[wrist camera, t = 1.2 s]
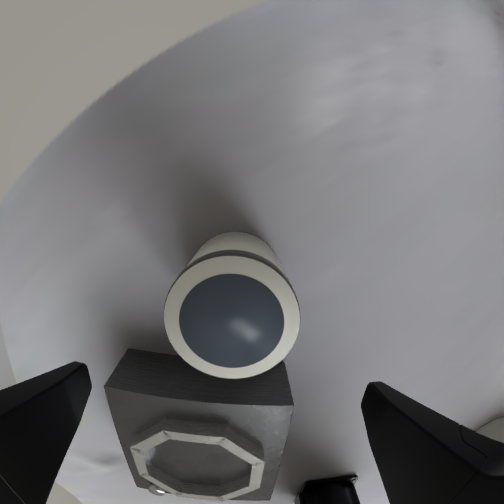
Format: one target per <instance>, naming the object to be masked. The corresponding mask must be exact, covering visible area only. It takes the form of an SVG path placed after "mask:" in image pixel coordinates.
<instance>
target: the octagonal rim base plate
mask: <svg viewBox="0 0 504 504" xmlns="http://www.w3.org/2000/svg"><path fill="white" fill-rule="evenodd" d="M104 388H105V392H106V396H107V400H108V404H109V407H110V411H111V414H112V418H113V421H114V425H115V428H116V431H117V434H118V437H119V440H120V443H121V446H122V449H123V452H124V455H125V458H126V460H127V463H128V466H129V468H130V471H131V473H132V476H133V478H134V481H135V483H136V485H137V487H140V488H145V489H149V491H150V492H151V493H153V494H155V495H160V496H162V495H164V494H165V493H171V494H174V495H176V496H180V497H187V498H195V499H204V500H215V501H225V500H253V501H260V500H270V499H271V495H272V492H273V488H274V485H275V481H276V477H277V474H278V470H279V466H280V463H281V459H282V455H283V451H284V447H285V443H286V439H287V434H288V430H289V426H290V422H291V417H292V413H293V408H294V403H293V398H292V394H291V390H290V385H289V381H288V376H287V372H286V367H285V363H282V362H279V363H278V364H276V365H275V366H274V367H272V368H271V369H269V370H267V371H265V372H263V373H261V374H258V375H255V376H251V377H246V378H238V379H230V378H220V377H216V376H212V375H209V374H206V373H204V372H202V371H200V370H198V369H196V368H194V367H193V366H191V365H190V364H189V363H187V362H186V361H185V360H184V359H183V358H182V357H181V356H177V355H168V354H160V353H153V352H146V351H139V350H133V349H128V350H127V351H126V353H125V354H124V356H123V357H122V359H121V360H120V362H119V363H118V365H117V366H116V368H115V370H114V371H113V373H112V374H111V376H110V377H109V379H108V380H107V382H106V384H105V385H104Z"/></svg>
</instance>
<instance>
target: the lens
mask: <svg viewBox="0 0 504 504" xmlns="http://www.w3.org/2000/svg"><path fill="white" fill-rule="evenodd" d="M164 323H165V328H166V332H167V335H168V338H169V340H170V342H171V344H172V346H173V347H174V349H175V350H176V351H177V353H178V354H179V355H180V356H181V357H182V358H183V359H184V360H185V361H186V362H187V363H189V364H190V365H191V366H193V367H194V368H196V369H198V370H200V371H202V372H204V373H206V374H209V375H212V376H216V377H220V378H230V379H238V378H246V377H251V376H255V375H258V374H261V373H263V372H265V371H267V370H269V369H271V368H272V367H274V366H275V365H276V364H278V363H279V362H280V361H281V360H282V359H283V358H284V357H285V356H286V355H287V354H288V352H289V351H290V350H291V348H292V346H293V345H294V343H295V340H296V338H297V335H298V331H299V326H300V308H299V304H298V300H297V297H296V295H295V292H294V290H293V288H292V286H291V284H290V282H289V281H288V279H287V278H286V276H285V274H284V272H283V269H282V267H281V265H280V263H279V261H278V259H277V257H276V255H275V253H274V252H273V250H272V249H271V248H270V247H269V246H268V245H267V244H266V243H265V242H264V241H263V240H261V239H260V238H258V237H256V236H254V235H251V234H248V233H244V232H226V233H222V234H219V235H217V236H214V237H213V238H211V239H209V240H208V241H207V242H205V243H204V244H203V245H202V246H201V247H200V249H199V250H198V251H197V253H196V254H195V255H194V257H193V258H192V260H191V261H190V262H189V264H188V265H187V267H186V268H185V269H184V270H183V271H182V272H181V274H180V275H179V276H178V278H177V279H176V280H175V282H174V283H173V285H172V286H171V288H170V290H169V292H168V295H167V298H166V302H165V307H164Z"/></svg>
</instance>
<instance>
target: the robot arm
mask: <svg viewBox="0 0 504 504" xmlns="http://www.w3.org/2000/svg"><path fill="white" fill-rule="evenodd" d="M91 388H92V384H91V380H90V376H89V372H88V368H87V366H86V364H84V363H81V362H76V361H74V362H72V363H69V364H67V365H64V366H62V367H59V368H57V369H54V370H52V371H49V372H47V373H44V374H42V375H39V376H36V377H34V378H31V379H29V380H26V381H24V382H21V383H18V384H16V385H13V386H11V387H8V388H5V389H2V390H0V504H46V502H47V499H48V496H49V494H50V491H51V489H52V486H53V484H54V481H55V479H56V476H57V474H58V471H59V469H60V467H61V464H62V462H63V460H64V457H65V455H66V453H67V450H68V448H69V446H70V444H71V441H72V439H73V437H74V435H75V433H76V431H77V428H78V426H79V424H80V421H81V418H82V415H83V412H84V409H85V406H86V403H87V400H88V397H89V395H90V392H91ZM361 409H362V413H363V417H364V421H365V426H366V430H367V435H368V439H369V443H370V446H371V450H372V452H373V455H374V458H375V461H376V464H377V467H378V470H379V472H380V475H381V478H382V481H383V484H384V487H385V490H386V493H387V496H388V499H389V503H390V504H504V443H502V442H500V441H497V440H494V439H492V438H489V437H486V436H484V435H482V434H479V433H477V432H475V431H473V430H471V429H468V428H467V427H465V426H463V425H459V423H457V422H455V421H453V420H451V419H449V418H447V417H445V416H443V415H441V414H439V413H437V412H435V411H434V410H432V409H430V408H428V407H426V406H424V405H422V404H421V403H419V402H417V401H415V400H413V399H411V398H409V397H408V396H406V395H404V394H402V393H400V392H399V391H397V390H395V389H393V388H392V387H390V386H388V385H386V384H384V383H383V382H380V381H378V382H370V383H369V384H368V385H367V387H366V390H365V393H364V396H363V399H362V402H361ZM357 480H358V476H357V475H353V476H346V477H340V478H333V479H325V480H315V481H307V482H305V483H304V485H303V488H302V490H301V492H300V493H299V494H298V496H297V498H296V500H295V504H360V501H359V499H358V496H357V493H356V490H355V487H354V484H355V483H356V481H357Z"/></svg>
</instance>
